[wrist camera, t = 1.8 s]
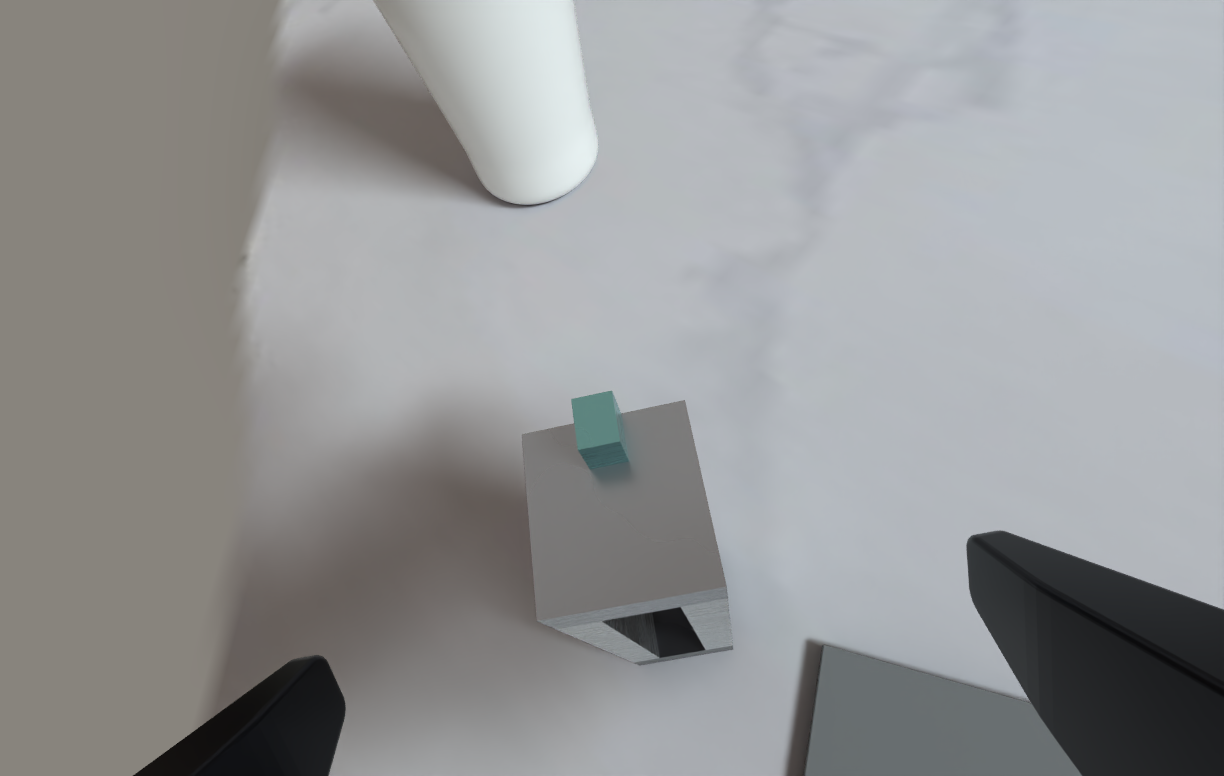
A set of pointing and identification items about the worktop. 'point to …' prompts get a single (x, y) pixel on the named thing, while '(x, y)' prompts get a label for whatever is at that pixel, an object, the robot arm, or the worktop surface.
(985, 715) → the mat
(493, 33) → the white tumbler
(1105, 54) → the worktop surface
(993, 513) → the worktop surface
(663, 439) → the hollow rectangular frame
